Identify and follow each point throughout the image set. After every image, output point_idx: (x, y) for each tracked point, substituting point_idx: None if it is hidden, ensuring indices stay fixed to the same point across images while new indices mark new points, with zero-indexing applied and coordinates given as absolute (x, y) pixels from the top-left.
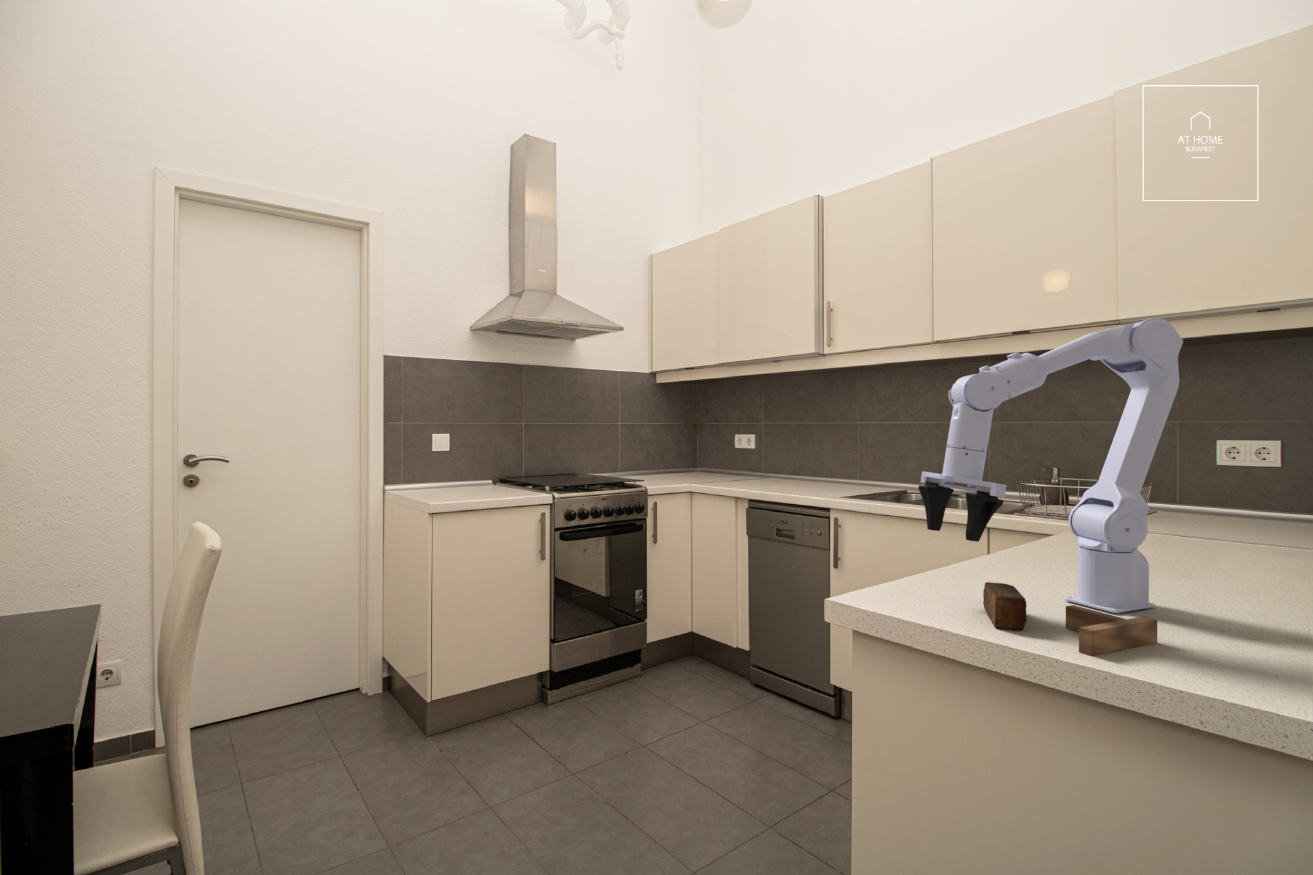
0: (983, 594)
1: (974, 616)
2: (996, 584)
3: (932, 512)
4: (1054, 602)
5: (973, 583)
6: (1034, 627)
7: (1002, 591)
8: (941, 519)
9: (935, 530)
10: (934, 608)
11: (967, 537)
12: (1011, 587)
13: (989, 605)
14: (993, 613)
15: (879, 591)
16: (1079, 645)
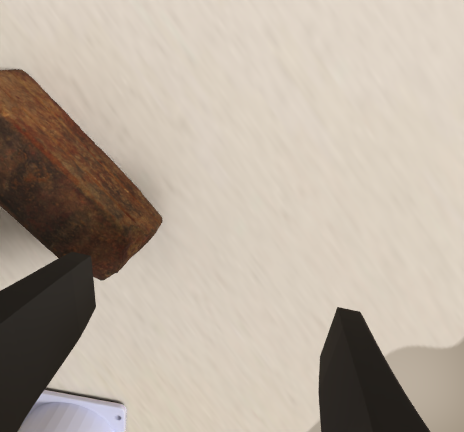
0: (152, 227)
1: (124, 126)
2: (83, 228)
3: (354, 406)
4: (129, 382)
5: None
6: None
7: (2, 152)
8: (324, 419)
9: (328, 336)
10: (229, 98)
11: (72, 257)
12: (37, 228)
13: (73, 144)
14: (23, 90)
15: (459, 116)
16: None
